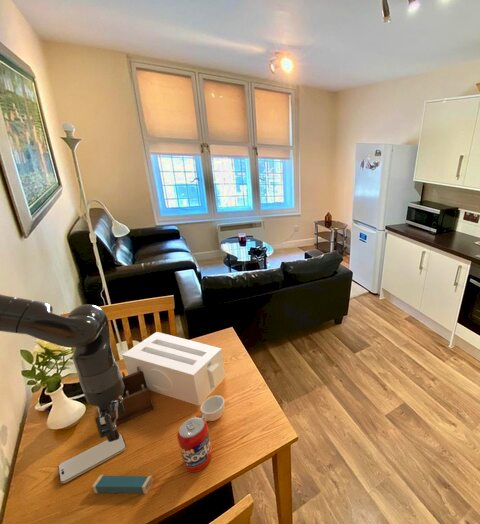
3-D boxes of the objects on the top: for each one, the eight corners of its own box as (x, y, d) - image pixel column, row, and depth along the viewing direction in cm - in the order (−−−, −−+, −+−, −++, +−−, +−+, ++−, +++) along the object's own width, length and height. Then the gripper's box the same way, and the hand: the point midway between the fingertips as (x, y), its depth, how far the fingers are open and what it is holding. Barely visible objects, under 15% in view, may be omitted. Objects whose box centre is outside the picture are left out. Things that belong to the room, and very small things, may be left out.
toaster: (129, 386, 113) (120, 355, 107) (163, 360, 127) (156, 331, 122) (204, 410, 106) (199, 378, 100) (231, 379, 120) (228, 350, 114)
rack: (104, 432, 95) (95, 407, 91) (101, 404, 105) (93, 381, 100) (154, 409, 104) (147, 386, 100) (147, 386, 113) (141, 363, 109)
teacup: (213, 403, 108) (211, 392, 106) (230, 409, 106) (229, 399, 104) (192, 425, 99) (190, 414, 97) (210, 433, 97) (208, 422, 95)
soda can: (205, 443, 94) (199, 410, 88) (217, 459, 89) (211, 425, 84) (179, 461, 88) (171, 427, 82) (191, 479, 84) (183, 445, 78)
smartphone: (126, 447, 90) (60, 483, 79) (127, 450, 90) (61, 486, 80) (121, 432, 95) (57, 464, 84) (121, 434, 95) (58, 466, 84)
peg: (146, 493, 80) (144, 487, 79) (94, 493, 79) (91, 486, 78) (153, 482, 82) (151, 475, 81) (103, 481, 82) (100, 474, 81)
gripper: (90, 366, 76) (105, 410, 82) (73, 407, 64) (93, 455, 70) (125, 358, 79) (137, 401, 85) (115, 396, 68) (130, 443, 74)
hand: (117, 426), depth 78 cm, fingers open, 8 cm apart
